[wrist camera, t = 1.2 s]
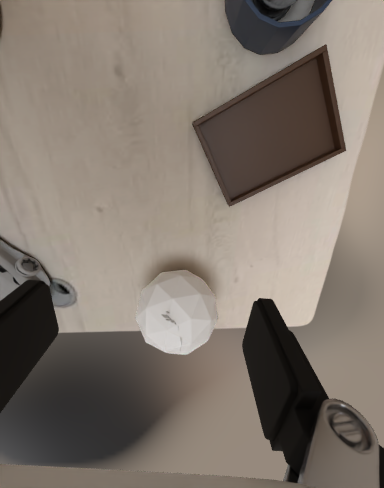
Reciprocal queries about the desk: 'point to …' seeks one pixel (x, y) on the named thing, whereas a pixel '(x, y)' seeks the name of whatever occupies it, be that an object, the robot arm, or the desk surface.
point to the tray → (274, 129)
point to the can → (266, 26)
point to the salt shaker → (273, 7)
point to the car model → (17, 269)
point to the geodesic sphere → (177, 312)
